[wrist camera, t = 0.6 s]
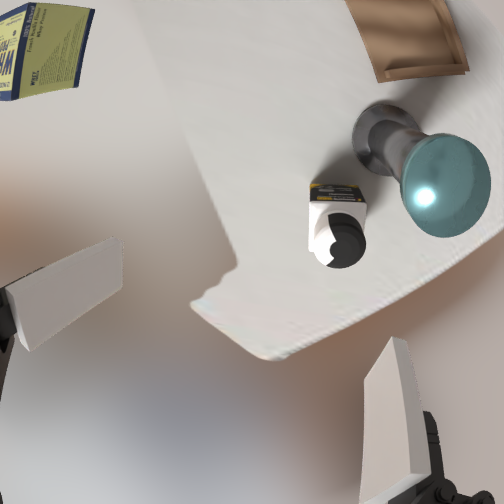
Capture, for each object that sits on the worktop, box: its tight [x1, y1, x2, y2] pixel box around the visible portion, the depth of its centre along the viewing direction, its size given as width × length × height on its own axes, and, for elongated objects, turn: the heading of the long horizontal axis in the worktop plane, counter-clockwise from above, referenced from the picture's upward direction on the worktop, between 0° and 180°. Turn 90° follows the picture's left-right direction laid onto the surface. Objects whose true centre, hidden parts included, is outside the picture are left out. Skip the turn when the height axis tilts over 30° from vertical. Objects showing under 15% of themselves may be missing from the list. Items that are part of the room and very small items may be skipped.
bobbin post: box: [352, 105, 491, 238], centre depth 24 cm, size 10×10×20 cm
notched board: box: [345, 0, 470, 83], centre depth 22 cm, size 14×14×4 cm
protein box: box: [0, 2, 95, 101], centre depth 24 cm, size 10×16×16 cm
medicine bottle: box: [309, 184, 367, 268], centre depth 35 cm, size 7×7×12 cm
